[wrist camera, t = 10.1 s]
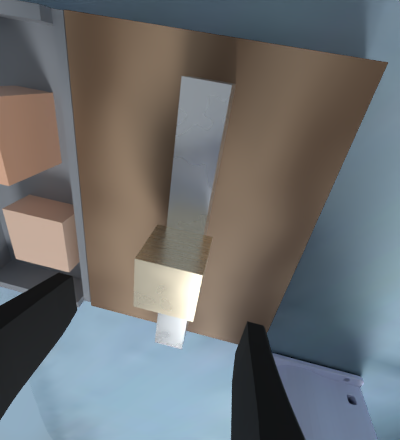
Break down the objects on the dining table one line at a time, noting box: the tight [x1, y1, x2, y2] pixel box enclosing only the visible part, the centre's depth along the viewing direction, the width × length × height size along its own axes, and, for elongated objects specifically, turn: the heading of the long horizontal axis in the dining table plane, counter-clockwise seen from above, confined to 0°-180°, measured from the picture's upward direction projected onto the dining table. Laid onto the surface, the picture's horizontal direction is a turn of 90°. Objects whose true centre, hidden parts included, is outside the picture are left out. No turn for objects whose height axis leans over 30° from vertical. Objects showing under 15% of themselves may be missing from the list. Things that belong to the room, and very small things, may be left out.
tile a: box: [0, 86, 62, 186], centre depth 15 cm, size 4×4×2 cm
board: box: [64, 10, 388, 345], centre depth 17 cm, size 14×20×2 cm
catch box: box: [0, 0, 91, 307], centre depth 18 cm, size 10×20×4 cm, turn 171°
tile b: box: [2, 195, 80, 272], centre depth 20 cm, size 4×4×2 cm
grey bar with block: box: [133, 76, 236, 349], centre depth 14 cm, size 3×17×6 cm, turn 171°
